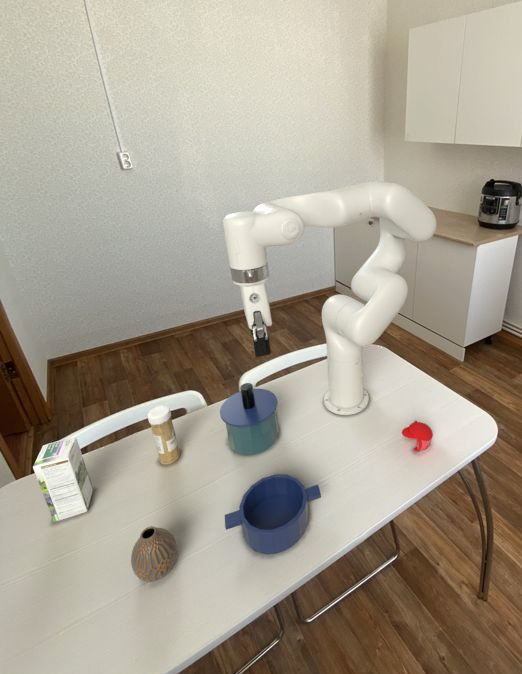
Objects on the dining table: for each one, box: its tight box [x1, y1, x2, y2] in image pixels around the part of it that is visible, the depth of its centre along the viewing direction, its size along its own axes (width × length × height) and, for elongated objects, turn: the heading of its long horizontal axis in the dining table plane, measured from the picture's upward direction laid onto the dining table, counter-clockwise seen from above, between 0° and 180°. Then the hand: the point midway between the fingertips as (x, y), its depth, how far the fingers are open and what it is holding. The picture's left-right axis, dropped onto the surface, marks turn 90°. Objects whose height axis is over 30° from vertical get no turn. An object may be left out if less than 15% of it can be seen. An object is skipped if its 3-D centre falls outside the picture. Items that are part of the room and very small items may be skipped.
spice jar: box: [147, 404, 181, 466], centre depth 87 cm, size 5×5×14 cm
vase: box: [130, 525, 178, 583], centre depth 65 cm, size 7×7×9 cm
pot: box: [225, 408, 280, 456], centre depth 94 cm, size 12×12×9 cm
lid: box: [219, 382, 279, 427], centre depth 91 cm, size 13×13×7 cm
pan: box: [224, 473, 322, 555], centre depth 73 cm, size 12×18×5 cm
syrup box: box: [32, 437, 94, 523], centre depth 76 cm, size 6×6×14 cm
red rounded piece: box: [401, 420, 434, 453], centre depth 91 cm, size 8×6×6 cm
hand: (260, 344), depth 85 cm, fingers open, 9 cm apart
